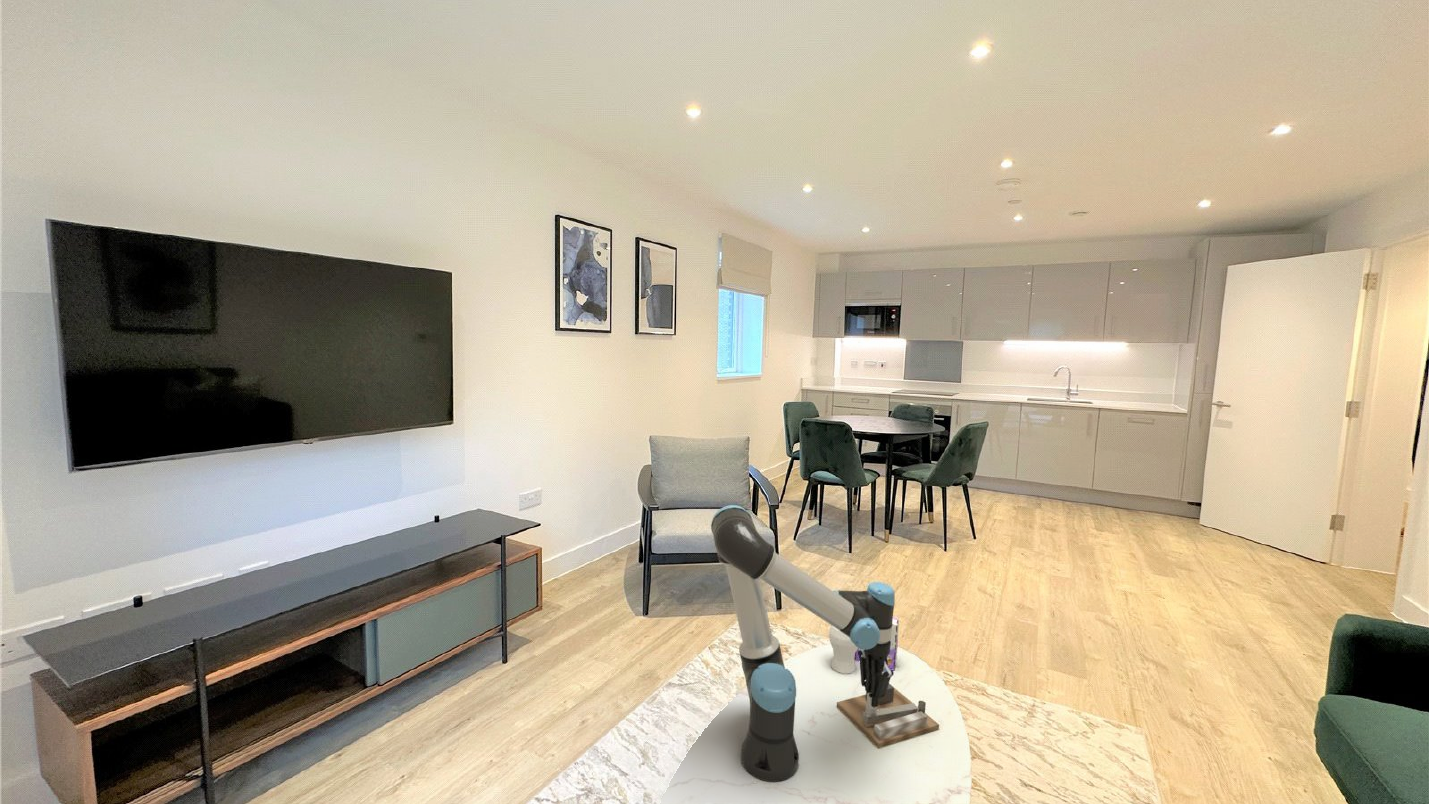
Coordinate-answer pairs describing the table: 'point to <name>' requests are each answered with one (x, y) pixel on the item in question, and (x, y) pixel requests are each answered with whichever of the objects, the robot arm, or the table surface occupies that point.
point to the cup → (842, 651)
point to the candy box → (893, 646)
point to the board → (860, 707)
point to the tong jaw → (888, 714)
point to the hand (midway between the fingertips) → (870, 714)
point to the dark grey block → (887, 696)
